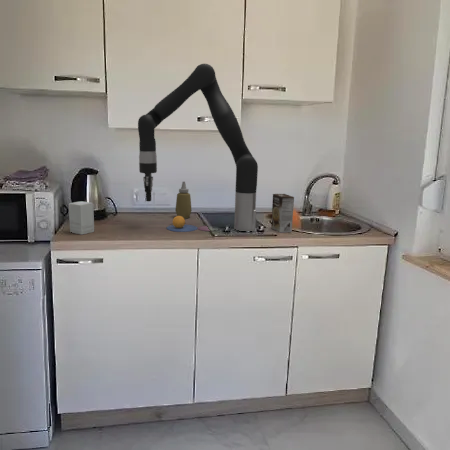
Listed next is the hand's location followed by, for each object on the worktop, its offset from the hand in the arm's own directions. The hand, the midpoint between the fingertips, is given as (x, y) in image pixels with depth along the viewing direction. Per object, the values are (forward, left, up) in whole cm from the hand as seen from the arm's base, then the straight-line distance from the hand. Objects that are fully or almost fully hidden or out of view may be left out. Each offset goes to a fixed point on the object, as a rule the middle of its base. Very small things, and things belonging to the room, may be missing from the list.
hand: (148, 201), depth 210 cm
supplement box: (+27, +10, -12) cm, 31 cm away
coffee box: (-60, +1, -12) cm, 61 cm away
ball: (-13, 0, -9) cm, 16 cm away
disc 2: (-27, 0, -12) cm, 29 cm away
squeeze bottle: (-15, -24, -12) cm, 31 cm away
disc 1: (-15, 0, -12) cm, 19 cm away
